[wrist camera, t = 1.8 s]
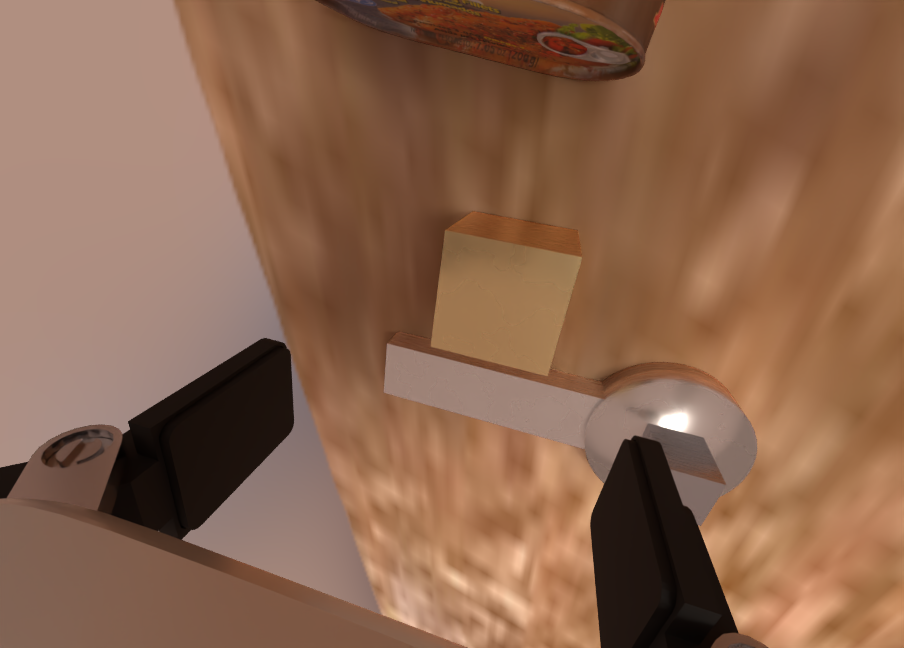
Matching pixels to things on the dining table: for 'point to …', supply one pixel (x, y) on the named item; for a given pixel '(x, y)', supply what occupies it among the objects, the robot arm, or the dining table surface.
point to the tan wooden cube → (505, 290)
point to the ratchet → (592, 411)
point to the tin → (524, 31)
